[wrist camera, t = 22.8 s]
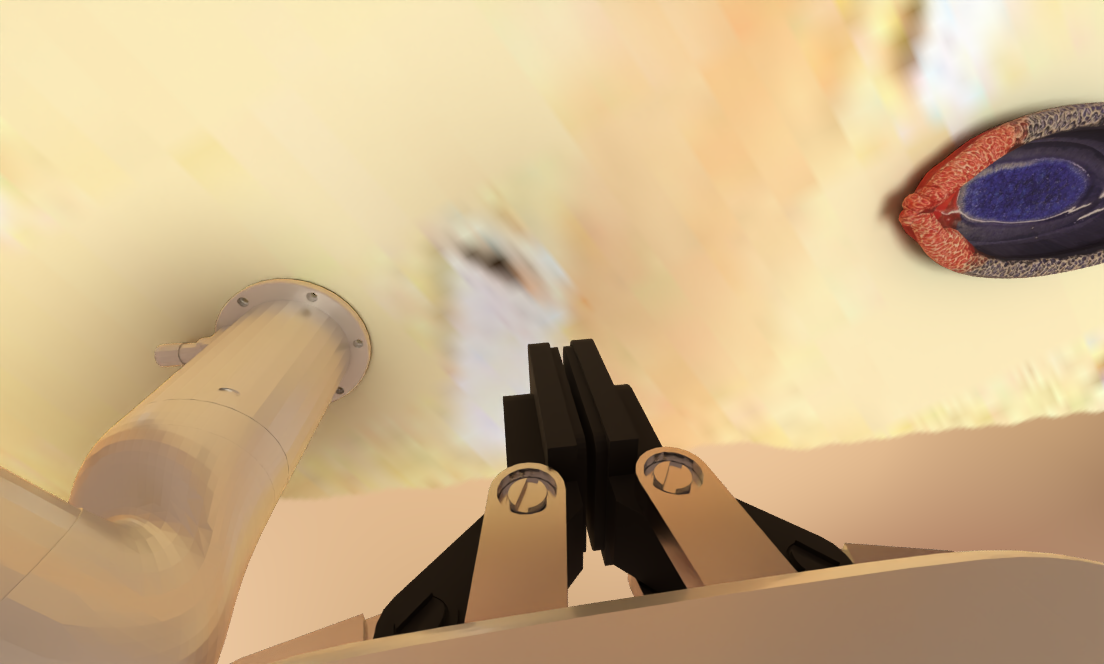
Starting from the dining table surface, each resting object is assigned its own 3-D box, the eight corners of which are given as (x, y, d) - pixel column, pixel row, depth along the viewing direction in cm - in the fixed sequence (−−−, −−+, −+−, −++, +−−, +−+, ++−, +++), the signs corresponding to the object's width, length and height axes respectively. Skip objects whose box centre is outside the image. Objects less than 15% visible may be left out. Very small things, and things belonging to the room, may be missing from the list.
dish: (1101, 263, 49) (1161, 278, 45) (850, 269, 45) (889, 286, 41) (1194, 106, 42) (1276, 106, 38) (907, 97, 39) (962, 95, 34)
